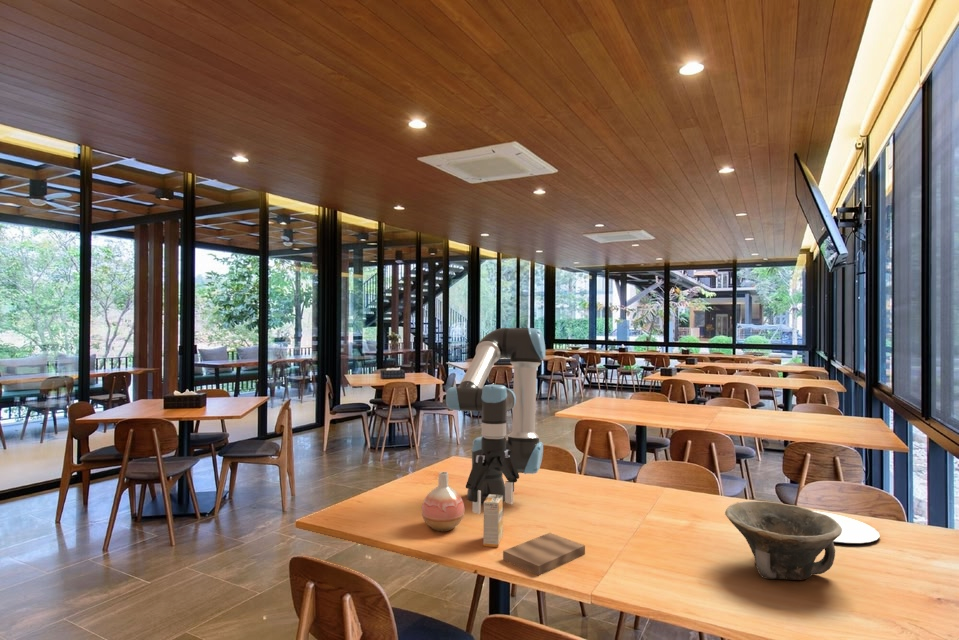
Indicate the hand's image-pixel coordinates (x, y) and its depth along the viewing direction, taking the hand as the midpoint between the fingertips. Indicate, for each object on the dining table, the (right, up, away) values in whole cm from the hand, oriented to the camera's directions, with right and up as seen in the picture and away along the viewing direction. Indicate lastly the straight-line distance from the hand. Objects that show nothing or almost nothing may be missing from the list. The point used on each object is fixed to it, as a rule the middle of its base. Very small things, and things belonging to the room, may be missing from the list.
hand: (493, 507), depth 163 cm
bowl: (+76, -11, -20) cm, 79 cm away
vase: (-16, -11, +11) cm, 22 cm away
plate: (+107, -12, +13) cm, 109 cm away
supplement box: (0, -11, 0) cm, 11 cm away
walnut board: (+14, -10, -11) cm, 20 cm away
